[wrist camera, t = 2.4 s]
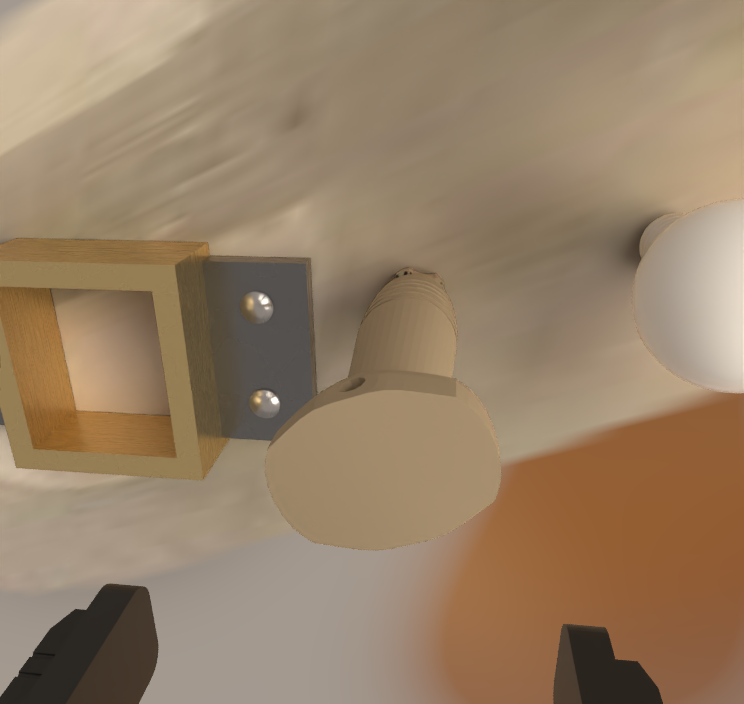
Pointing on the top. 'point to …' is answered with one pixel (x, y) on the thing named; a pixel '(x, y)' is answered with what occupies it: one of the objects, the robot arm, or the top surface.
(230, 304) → the wooden frame on plate
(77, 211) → the top surface
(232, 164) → the top surface
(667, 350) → the lightbulb
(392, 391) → the handle
